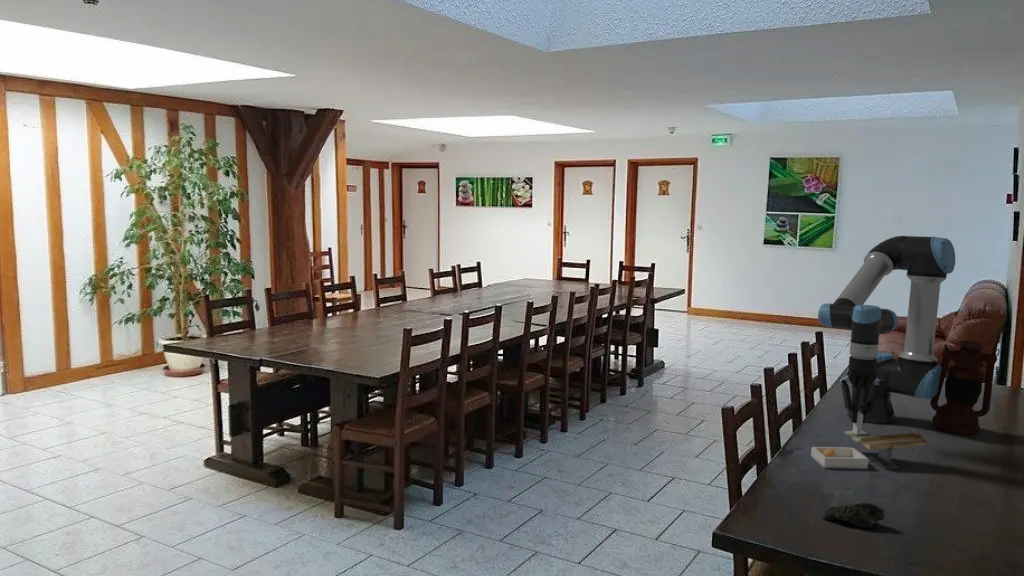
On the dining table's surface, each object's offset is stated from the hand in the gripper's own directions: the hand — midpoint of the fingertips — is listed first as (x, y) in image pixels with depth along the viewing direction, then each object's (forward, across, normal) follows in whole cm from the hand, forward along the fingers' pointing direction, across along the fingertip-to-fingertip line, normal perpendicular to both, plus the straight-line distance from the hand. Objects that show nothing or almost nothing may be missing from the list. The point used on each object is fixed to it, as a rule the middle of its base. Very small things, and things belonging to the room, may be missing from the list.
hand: (857, 433), depth 218 cm
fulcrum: (+6, +4, -8) cm, 11 cm away
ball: (+4, -12, -8) cm, 15 cm away
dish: (+6, -9, -8) cm, 14 cm away
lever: (0, +6, -4) cm, 8 cm away
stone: (+7, -23, -48) cm, 54 cm away
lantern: (+4, +45, +26) cm, 52 cm away
